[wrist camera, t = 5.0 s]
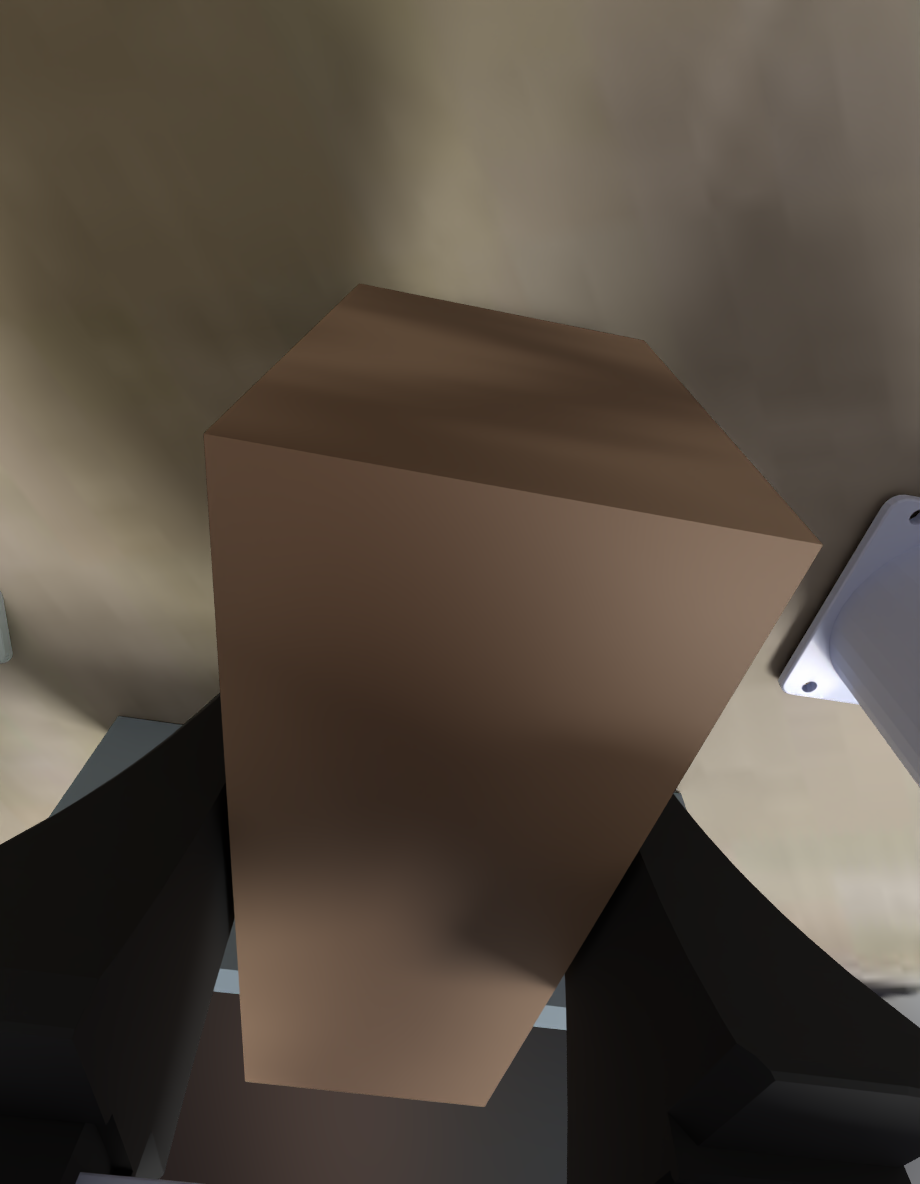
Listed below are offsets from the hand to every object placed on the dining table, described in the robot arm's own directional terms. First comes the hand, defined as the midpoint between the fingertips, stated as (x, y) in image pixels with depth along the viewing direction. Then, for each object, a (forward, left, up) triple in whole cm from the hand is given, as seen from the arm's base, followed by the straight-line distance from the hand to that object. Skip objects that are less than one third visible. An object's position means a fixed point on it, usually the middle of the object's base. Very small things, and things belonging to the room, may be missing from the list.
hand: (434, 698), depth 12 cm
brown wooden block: (0, 0, -3) cm, 3 cm away
